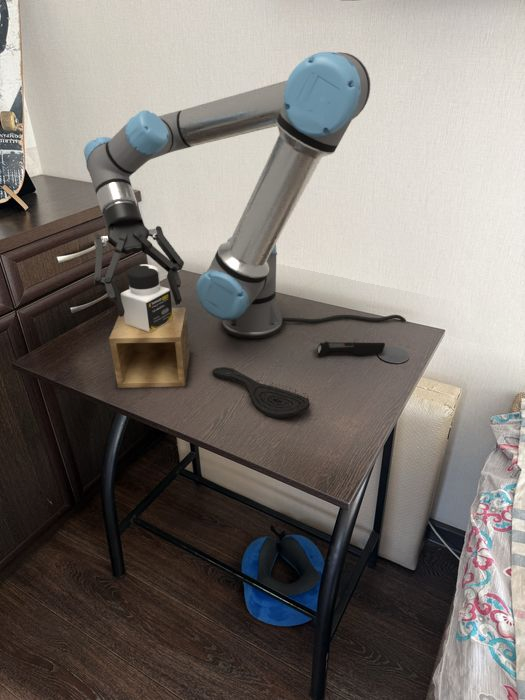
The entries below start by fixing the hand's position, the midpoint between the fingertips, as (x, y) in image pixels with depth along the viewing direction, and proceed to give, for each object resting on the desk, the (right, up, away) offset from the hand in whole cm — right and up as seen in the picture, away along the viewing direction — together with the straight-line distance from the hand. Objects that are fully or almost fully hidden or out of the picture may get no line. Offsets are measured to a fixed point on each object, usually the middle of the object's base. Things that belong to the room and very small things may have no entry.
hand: (151, 308), depth 100 cm
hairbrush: (+21, -18, +3) cm, 28 cm away
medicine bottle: (-1, -3, +5) cm, 6 cm away
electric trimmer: (+42, -9, +17) cm, 47 cm away
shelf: (-1, -13, +11) cm, 17 cm away
